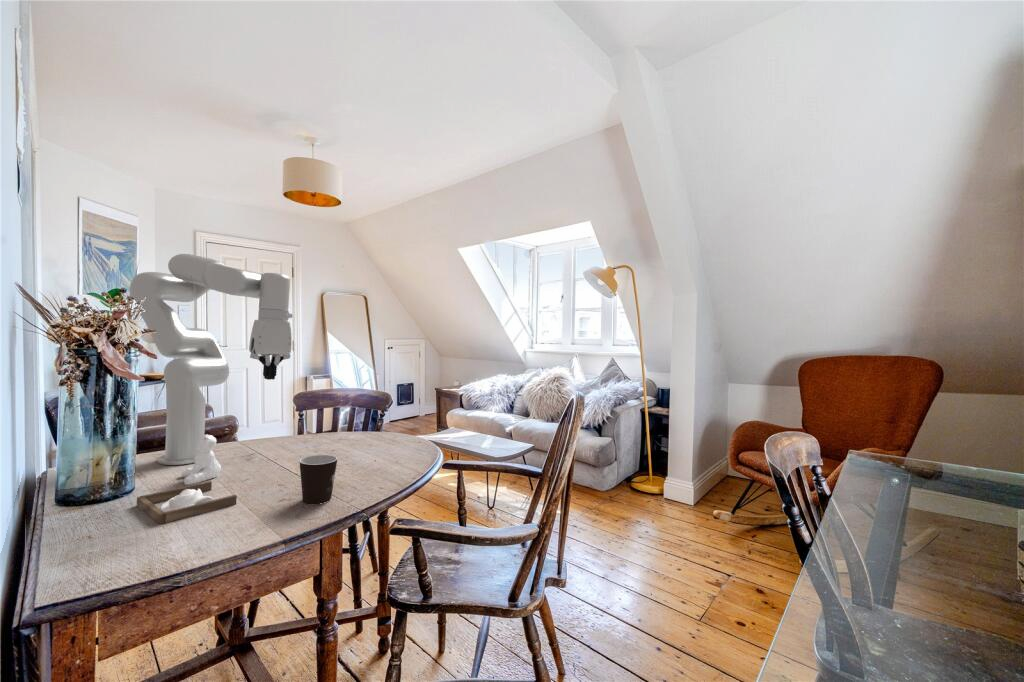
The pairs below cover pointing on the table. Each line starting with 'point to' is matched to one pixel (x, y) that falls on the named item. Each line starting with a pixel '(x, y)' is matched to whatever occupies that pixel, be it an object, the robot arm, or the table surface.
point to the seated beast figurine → (203, 463)
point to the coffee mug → (317, 478)
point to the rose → (185, 500)
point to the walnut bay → (164, 517)
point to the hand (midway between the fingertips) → (269, 378)
